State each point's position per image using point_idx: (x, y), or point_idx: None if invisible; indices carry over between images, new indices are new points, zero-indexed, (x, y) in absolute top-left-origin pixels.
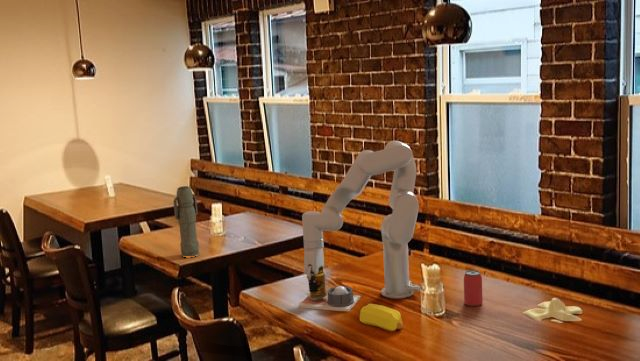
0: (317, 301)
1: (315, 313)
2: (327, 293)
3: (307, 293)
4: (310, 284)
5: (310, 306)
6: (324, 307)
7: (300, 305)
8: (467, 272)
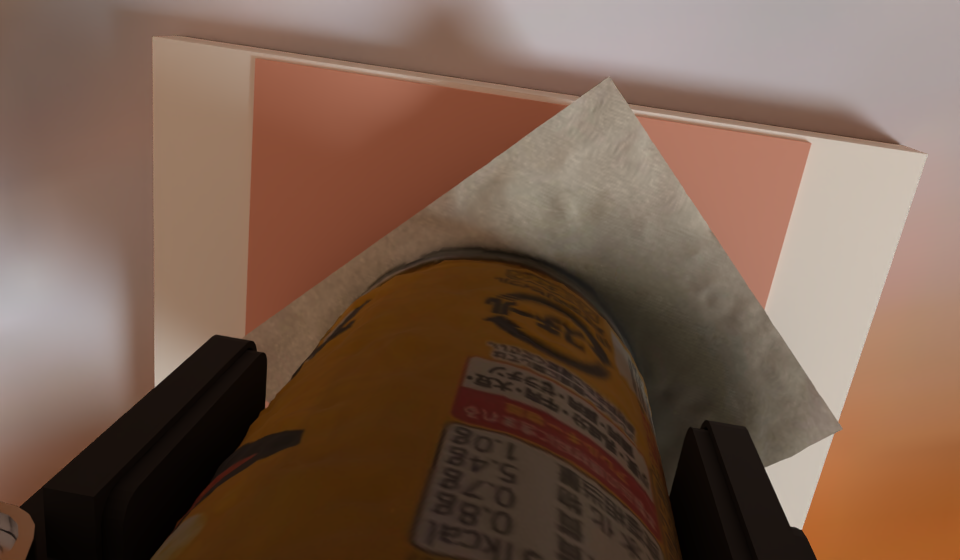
0: None
1: (9, 382)
2: (815, 479)
3: (613, 142)
4: (30, 511)
5: (159, 282)
6: None
7: (153, 82)
8: None
